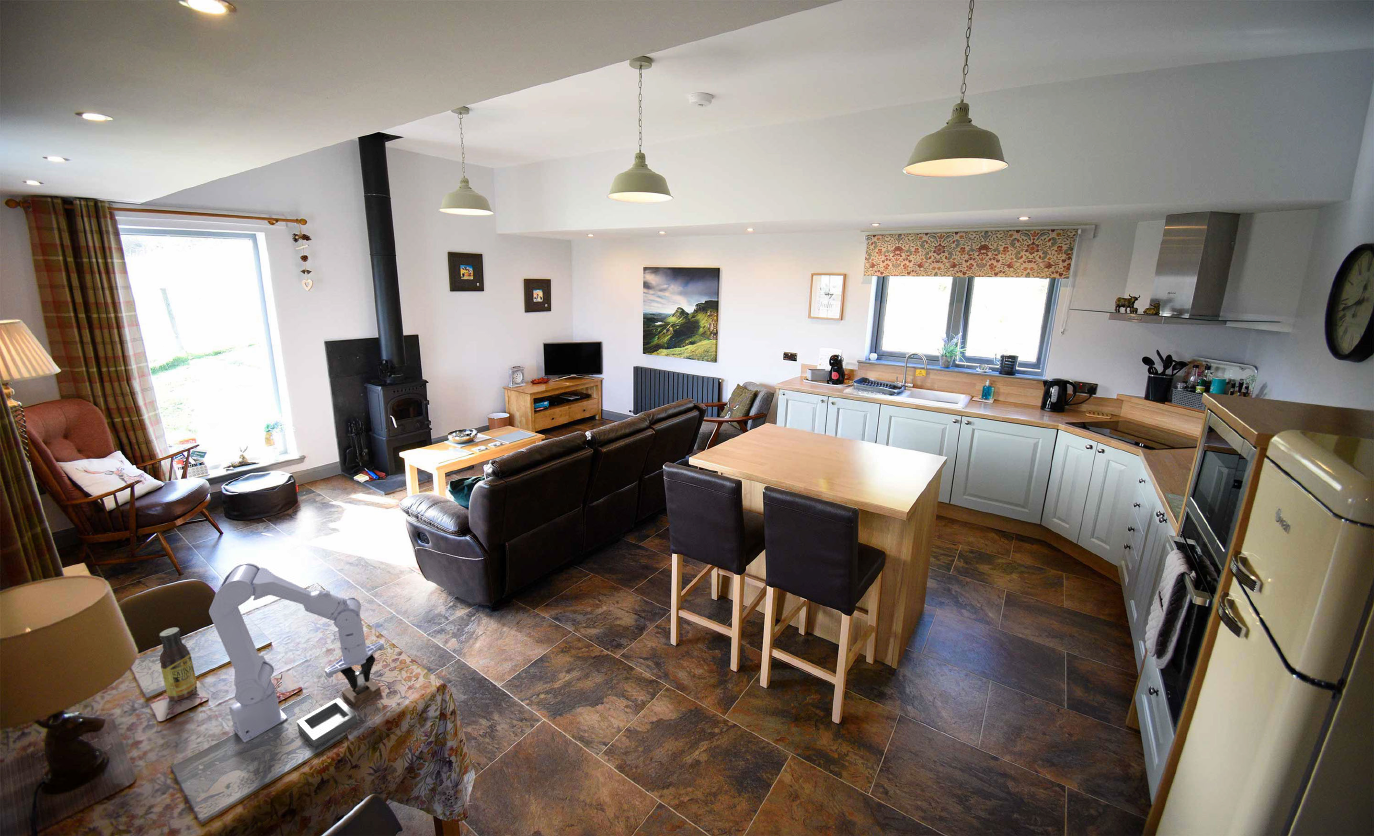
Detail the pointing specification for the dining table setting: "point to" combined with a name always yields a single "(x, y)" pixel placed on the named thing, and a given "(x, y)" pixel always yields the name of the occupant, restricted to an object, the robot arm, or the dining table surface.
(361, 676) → the pin
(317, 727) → the tray
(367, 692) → the frame
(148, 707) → the dining table surface
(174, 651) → the sauce bottle
